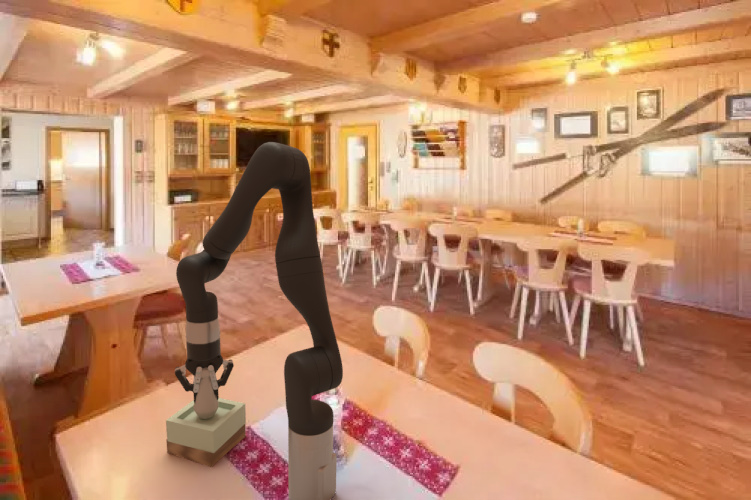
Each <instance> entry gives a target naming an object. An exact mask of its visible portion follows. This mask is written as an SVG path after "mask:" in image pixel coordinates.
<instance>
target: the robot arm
mask: <svg viewBox="0 0 751 500" xmlns="http://www.w3.org/2000/svg"><path fill="white" fill-rule="evenodd" d="M272 189H273V190H278V191H279V195H280V199H281V205H282V206H281V207H282V215H283V216H282V223H281V227H280V231H279V233H278V237H277V241H276V245H275V251H274V261H275V268H276V273H277V279H278V280H277V282H278V285H279V288H280V290H281V292H282V293H283V295H284V296H285V298H287V300H288V301H289V302H290V304H291V305H292V306H293V307H294V308H295V309H296V310H297V312H298V313H299V314H300V315H301V316H302V318H303V319H304V320H305V322H306V324H307V327H308V329H309V331H310V335H311V339H312V345H313V346H312V347H308V348H305V349H301V350H297V351H293V352H291V353H289V354H288V355H287V356H286V359H285V360H284V361H285V362H284V365H283V366H284V367H283V368H284V369H283V377H284V379H283V380H284V389H285V390H284V391H285V392H284V393H285V394H284V395H285V409H286V413H287V420H288V421H287V424H288V427H287V429H288V432H287V433H288V435H287V436H288V439H287V441H288V443H287V444H288V445H287V447H288V448H287V450H288V452H287V453H288V459H287V461H288V463H287V464H288V474H287V475H288V480H287V481H288V488H287V489H288V500H330V499H331V498H332V496H333V495H334V494H335V495H336V493H337V461H338V460H337V458H338V457H337V453H335V452H334V411H333V408H332V406H331V405H330V404H329V403H327V402H325V401H322V400H320V399H319V400H318V399H312V397H314V396H317V395H320V394H322V393H323V394H324V393H326V392H328V391H330V390H334V389H336V388H338V387H340V385H341V384H342V382H343V376H344V371H343V370H344V369H343V361H342V356H341V353H340V349H339V344H338V341H337V337H336V334H335V330H334V325H333V320H332V317H331V311H330V307H329V306H330V305H329V302H328V296H327V290H326V284H325V276H324V269H323V263H322V257H321V252H320V247H319V242H318V235H317V234H318V233H317V228H316V223H315V215H314V207H313V195H312V194H313V193H312V192H313V191H312V175H311V168H310V163H309V160H308V157H307V155H305V153H304V152H303V151H302V150H300V149H299V148H297V147H293V146H290V145H287V144H284V143H279V142H274V141H268V142H264V143H263V144H261V145H259V146H258V147H257V149H256V150H255V152H253V155H252V156H251V157H250V160H249V161H248V163H247V165H246V167H245V169H244V170H243V173H242V175H241V177H240V179H239V181H238V182H237V185H236V186H235V189H234V191H233V193H232V195H231V197H230V199H229V201H228V203H227V204H226V206H225V208H224V209H223V210H222V212H221V214H220V215H219V216H218V217H217V220H215V222H214V223H213V225H212V226H211V227H210V229H208V231H207V233H206V234H205V235H204V237H203V240H202V248H203V250H202V251H201V252H198V253H195V254H190V255H187V256H184V257H182V258H181V259H180V261H179V262H178V263H177V266H176V273H175V274H176V275H175V276H176V280H177V283H178V286H179V289H180V292H181V295H182V297H183V301H184V303H185V317H186V318H185V342H186V344H185V345H186V361H185V362H184V364H183V365H181V366H176V367H175V368H174V375H175V377H176V378H177V380H178V382H179V383H180V385H181V386H182V388H183V389H184V390H185V391H184V392H187V393H188V392H192V393H193V400H194V403H195V402H196V396H197V394H198V393H197V392H198V391H199V384H200V379H201V377H200V373H201V372H202V368H206V367H207V368H208V370H209V372H210V378H211V382H212V386H213V389H214V390H213V391H214V395H215V394H216V395H215V398H217V400H218V399H219V398H220V397H219V389H220V387H225V386H226V385H227V383H228V380H229V378H230V375H231V373H232V371H233V368H234V366H235V364H234V361H233V359H230V358H229V359H224V358H223V356H222V352H221V349H222V348H221V328H220V326H221V325H220V320H219V307H218V306H219V305H218V303H219V302H218V298H217V294H215V293H213V292H211V291H206V283H209V282H212V281H214V280H216V279H217V278H219V276H221V274H223V272H224V271H225V270H226V268H227V267H228V266H227V265H228V264H229V262H230V260H231V256H232V255H233V253H234V252H235V251H236V250H237V249H238V248H239V246H240V245H241V244H242V242H243V241H244V240H245V239H246V237H247V235H248V233H249V231H250V229H251V226H252V221H253V216H254V211H255V208H256V207H257V205H258V204H259V202H260V201H261V199H262V198H263V197H264V196H265V195H266V194H267V193H268V192H269V191H270V190H272ZM221 366H222V368H223V372H222V374H221V376H220V377H219V379H217V376H216V375H217V372H218V371H219V370H220V368H221ZM186 370H187V371H188V372H189V373H190V374H191V375H192V376H193V383H191V382H190V381H189V379H188V377H186V373H187V372H186ZM335 492H336V493H335ZM335 495H334V496H335ZM334 496H333V497H334ZM332 499H333V498H332ZM332 499H331V500H332Z"/></svg>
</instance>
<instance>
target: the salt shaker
mask: <svg viewBox="0 0 751 500" xmlns="http://www.w3.org/2000/svg"><path fill="white" fill-rule="evenodd" d="M200 377H201V379H200V384H199V391H198V392H197V393H198V394H197V396H196V402H195V403H194V407H193V409H194V411H195V412H196V414H197V416H198V418H200V419H209V418H212V417H213V416H214V415H215V413H216V411H217V409H218V405H219V402H218V400H217V398H215V395H216V394H215V395H214V391H213V390H214V389H213V386H212V382H211V378H210V372H209V370H208V368H207V367H206V368H202V372H201V373H200Z"/></svg>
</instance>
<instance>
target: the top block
mask: <svg viewBox="0 0 751 500" xmlns="http://www.w3.org/2000/svg"><path fill="white" fill-rule="evenodd" d="M218 402H219V405H218V409H217V411H216V413H215V415H214V416H213V417H212V418H209V419H200V418H198V416H197V414H196V412H195V411H194V409H193V407H194V399H193V400H192V401H191V402H189V403H187V404H185V406H183V407H182V408H180V410H177V412H175V413H174V414H172V415H171V416H169V417H168V418H167V419H166V420H165V427H166V440H167V441H168V442H172V443H176V444H180V445H184V446H188V447H192V448H196V449H199V450H203V451H207V452H211V453H215V452H216V451H217V450H218V449H219V448H220V447H221V446H222V445H223V444H224V443H225V442H226V441H227V440H228V439H229V438H231V437H232V436H233V435H234V434H235V433H236V432H237V431H238V430H239V429H240V428H241V427H242V426H243V425H244V424H245V425H246V424H247V417H246V415H247V414H246V403H245V402H241V401H240V402H239V401H235V400H231V399H225V398H223V397H222V398H221V397H219V399H218Z"/></svg>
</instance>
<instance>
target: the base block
mask: <svg viewBox="0 0 751 500" xmlns="http://www.w3.org/2000/svg"><path fill="white" fill-rule="evenodd" d="M246 432H247V430H246V423H245V424H244V425H243V426H242V427H241V428H240V429H239V430H238V431H237V432H236V433H235V434H234V435H233V436H232V437H231V438H229V439H228V440H227V441H226V442H225V443H224V444H223V445H222V446H221V447H220V448H219V449H218V450H217V451H216V452H215V453H211V452H207V451H203V450H199V449H196V448H192V447H188V446H184V445H180V444H176V443H172V442H168V441H167V439H166V442H165V443H166V453H168V454H171V455H174V456H177V457H180V458H183V459H186V460H188V461H191V462H195V463H197V464H201V465H204V466H207V467H210V468H212V467H213V466H215V464H216V463H217V462H218V461H220V460H221V459H222V458H223V457H224V456H226V454H227V453H229V452H230V451H231V450H232V449H234V447H236V446H237V445H238V444H239V443H240V442H241V441H242V440H244V439H245V438H246V437H247V434H246Z"/></svg>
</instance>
